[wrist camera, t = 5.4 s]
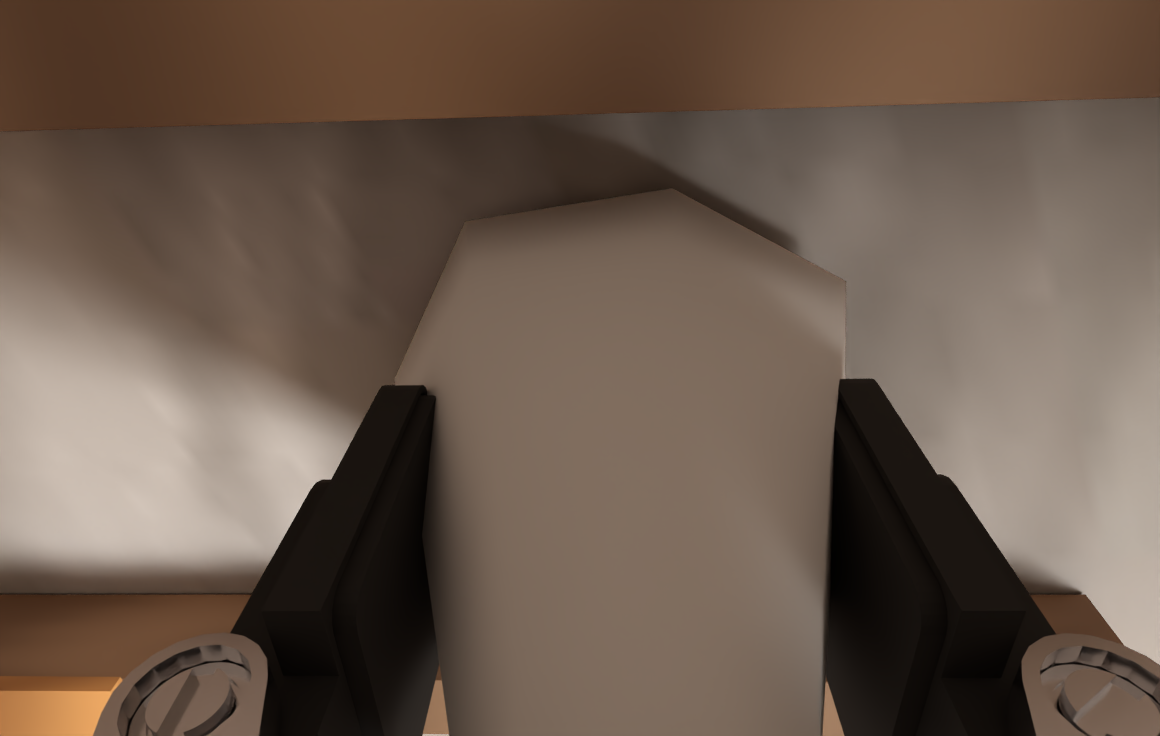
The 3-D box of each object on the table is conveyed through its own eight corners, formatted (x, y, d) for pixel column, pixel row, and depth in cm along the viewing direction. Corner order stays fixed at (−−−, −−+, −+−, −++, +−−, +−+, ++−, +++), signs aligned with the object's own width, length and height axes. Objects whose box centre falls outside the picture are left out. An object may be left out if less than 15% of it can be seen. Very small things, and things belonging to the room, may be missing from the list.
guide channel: (1367, -75, 9) (1882, -103, 5) (1062, 649, 15) (1204, 862, 11) (-860, 13, 10) (-1655, 38, 6) (-295, 645, 16) (-546, 833, 13)
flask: (406, 139, 10) (-1273, 1603, 1) (923, 224, 10) (2959, 1861, 1) (393, 540, 13) (-19, 1647, 5) (777, 592, 14) (1087, 1716, 5)
